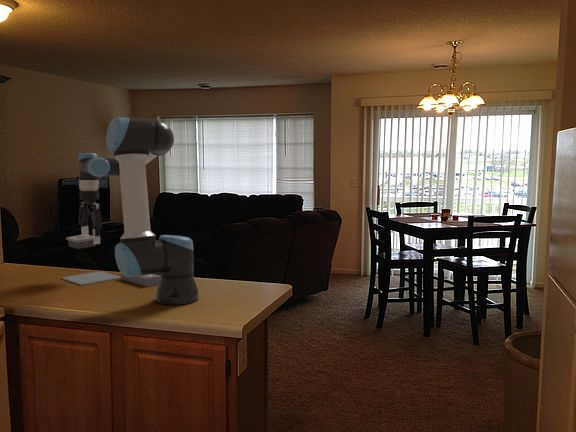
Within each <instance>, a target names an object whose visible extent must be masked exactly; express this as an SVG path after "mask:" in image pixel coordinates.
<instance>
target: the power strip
mask: <svg viewBox="0 0 576 432" xmlns="http://www.w3.org/2000/svg"><path fill="white" fill-rule="evenodd" d="M120 277H121V279H120V280H123V281H126V282H130V283H132V284H136V285H140V286H142V287H146V288H148V287H153V286H159V283H160V279H161V275H157V274H151V275H143V276H139V277H136V276H135V277H126V276H124V275H123V274H122V273H121V272H120Z"/></svg>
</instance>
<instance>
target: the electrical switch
mask: <svg viewBox="0 0 576 432" xmlns="http://www.w3.org/2000/svg"><path fill="white" fill-rule="evenodd" d="M65 240H66V241H67V242H68V247H71V248H72V249H73V248H75V249H77V250H80V249H81V250H82V249H87V248H92V247H96V245H97V244H93V235H90V234H89V235H86V234H85V235H82V234H79V235H78V234H77V235H74V236H73V235H72V236H68V237H67V236H66V238H65Z"/></svg>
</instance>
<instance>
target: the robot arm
mask: <svg viewBox="0 0 576 432" xmlns="http://www.w3.org/2000/svg"><path fill="white" fill-rule="evenodd" d="M174 143H175V136H174V133H173V131H172V129H171V127H170V126H169V125H168V124H167V123H165V122H163V121H162V120H159V119H155V118H154V119H153V118H152V119H151V118H141V117H131V116H130V117H128V116H125V117H114V118H113V119H112V120H111V121H110V122H109V124H108V127H107V131H106V136H105V145H106V148H107V150H108V151H109V152H110V153H113V157H98V154H97V153H93V152H87V153H86V152H84V153H83V152H81V153H79V154H78V161H77V163H78V178H79V179H78V183H79V184H78V186H79V187H78V189H79V199H80V200H82V202H79V211H78V221H77V222H78V223H77V224H78V225H80V227H81V228H80V229H81V230H80V231H81V235H85V234H86V235H90V234H89V224H88V223H89V218H90V219H91V223H92V225H93V226H92V236H93V244H96V245H100V244H101V228H103V225H104V224H103V220H102V219H103V218H102V213H101V203H97V201H96V200H99V199H100V191H99V184H100V182H99V177H100V178H101V177H102V178H103V177H119V179H120V181H119V182H120V190H121V191H120V193H121V205H122V219H123V230H124V232H123V234H122V235H121V236H120V238H119V241H120V242H118V243H117V244H116V245H115V247H114V257H115V262H116V265H117V268H118V270H119V271H120V274H121V273H122V274H123V275H124V276H126V277H135V276H136V277H139V276H143V275H151V274H153V275H157V274H160V283H159V285H157V290H156V293H155V302H157V303H158V304H163V305H185V304H191V303H194V302H196V301H198V300H199V297H200V295H199V294H200V293H199V289H198V286H197V284H196V281H195V277H194V251H195V250H194V242H193V239H191V238H190V237H187V236H182V235H172V234H171V235H170V234H162V235H160V236H159V238H158V239H156V238H157V237H156V234H155V233H154V232H152V229H151V221H150V220H151V219H150V207H149V196H148V195H149V193H148V182H147V181H148V180H147V167H146V165H147V164H149V163H150V162H152V161H153V160H154V159H156V157H161V156H164V155H166V154H167V153H168V152H170V151H171V149H172V148H173V147H174Z"/></svg>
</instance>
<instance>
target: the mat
mask: <svg viewBox="0 0 576 432" xmlns="http://www.w3.org/2000/svg"><path fill="white" fill-rule="evenodd" d="M61 279H62V280H63V281H66V282H70V283H71V284H72V283H73V284H75V285H78V286H81V287H82V286H88V285H95V284H99V283H104V282H111V281H116V280H122V279H121V276H119V275H116V274H113V273H108V272H107V271H106V272H105V271H102V270H101V271H96V272H95V271H94V272H87V273H83V274H81V273H80V274H75V275H71V276H69V275H68V276H63V277H61Z"/></svg>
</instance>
